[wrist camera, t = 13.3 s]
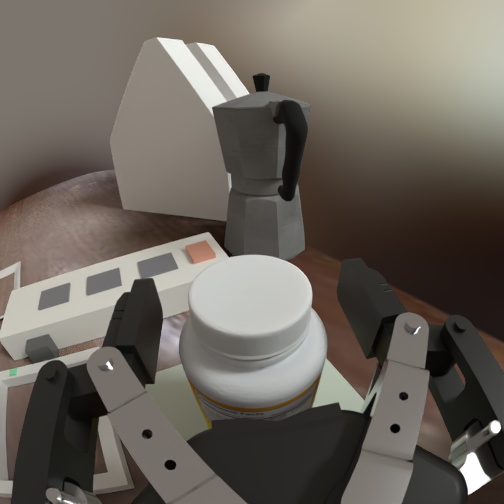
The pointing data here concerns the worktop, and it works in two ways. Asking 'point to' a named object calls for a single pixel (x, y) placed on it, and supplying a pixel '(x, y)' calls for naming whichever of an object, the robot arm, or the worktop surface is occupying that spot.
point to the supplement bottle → (252, 340)
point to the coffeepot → (263, 171)
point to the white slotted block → (174, 131)
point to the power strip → (100, 296)
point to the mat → (190, 416)
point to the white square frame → (109, 439)
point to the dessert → (16, 269)
